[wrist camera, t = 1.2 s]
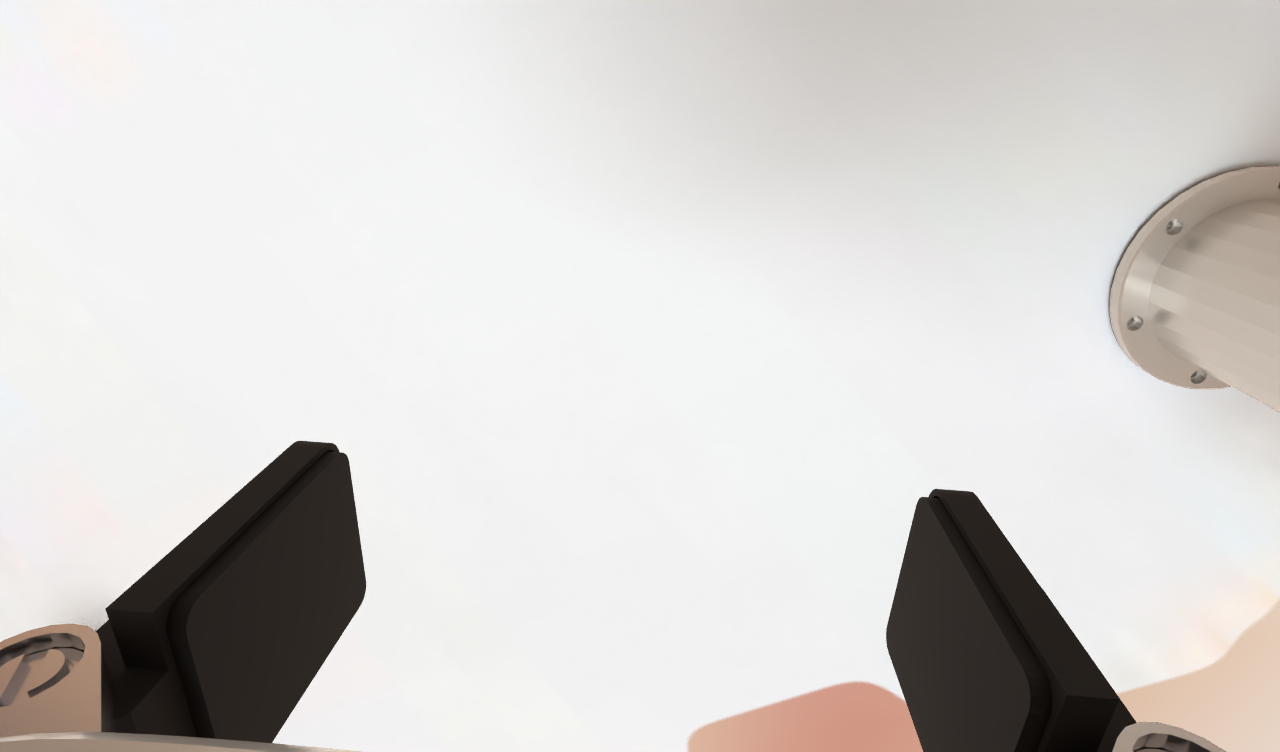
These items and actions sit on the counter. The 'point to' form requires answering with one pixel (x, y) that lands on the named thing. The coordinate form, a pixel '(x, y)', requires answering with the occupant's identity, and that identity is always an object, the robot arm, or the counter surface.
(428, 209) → the counter surface
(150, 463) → the counter surface
